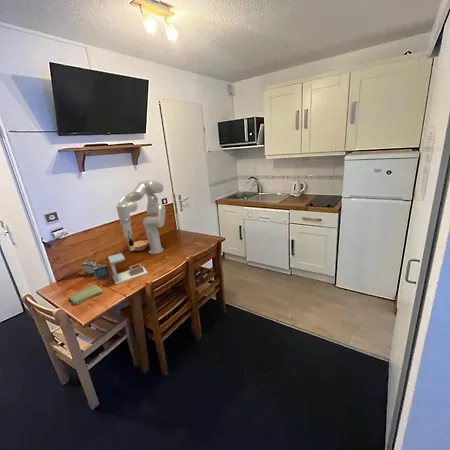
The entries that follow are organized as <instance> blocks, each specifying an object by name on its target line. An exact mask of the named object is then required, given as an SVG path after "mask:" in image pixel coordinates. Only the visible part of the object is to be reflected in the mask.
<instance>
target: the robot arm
mask: <svg viewBox="0 0 450 450" xmlns="http://www.w3.org/2000/svg"><path fill="white" fill-rule="evenodd" d="M163 191H164V185H163V183H161V182H158V181H155V180H144V181H139V183H137V186H135V188H134V189H133V190H132V192H129V193H128V194H126V195H125V196H122V197H121V199H120V201H119V202H118V203H117V205H116V210H117V215H118V220H119V223H120V225H121V227H122V232H123V233H122V234H123V236H124V237H125V238H126V239H127V237H128V236H129V237H128V241H127V240H126V241H127V243H128V242H129V246H133V245H134V244H135V243H134V239H133V237H134V235H133V229H132V226H131V224H132V220H131V214H130V213H134V212H136V211H137V210H138V208H139V205H138V203H137V202H139V201H140V200H142V199H143V197H144V196H145V195H146V197H147V205H146V214H147V215H148V216H146V217H144V218H143V222H142V224H143V226H144V229H145V232H146V236H147V240H148V244H149V245H148V246H149V250H148V253H149V254H150V255H157V254H159V253H162V252H164V249H165V248H164V247H162V243H161V238H160V232H159V230H158V228H163V227H164V225H165V222H166V221H165V220H166V206H165V205H164V204H163V203H159V198H158V196H157V195H156V194H160V193H161V194H162V192H163ZM129 246H128V247H129ZM134 246H135V245H134Z"/></svg>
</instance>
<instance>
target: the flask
mask: <svg viewBox="0 0 450 450" xmlns="http://www.w3.org/2000/svg"><path fill="white" fill-rule="evenodd" d="M93 271H94V275H95V277H94V278H95V280H96V281H99V280H102V279H105V278H109V277H110V276H111V275H110V273H109V268H108V265H107V264H103V265H101V264H100V263H99V264H97V266H96V268H94V269H93Z"/></svg>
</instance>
